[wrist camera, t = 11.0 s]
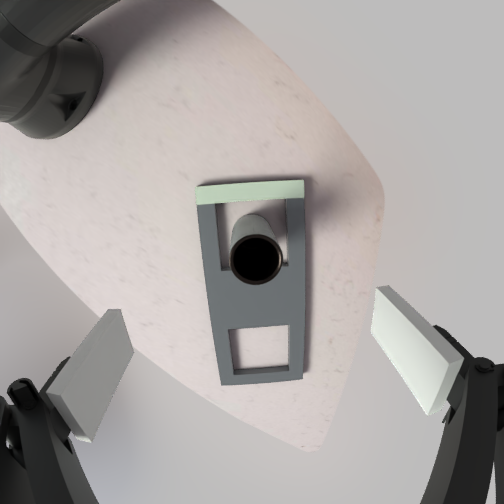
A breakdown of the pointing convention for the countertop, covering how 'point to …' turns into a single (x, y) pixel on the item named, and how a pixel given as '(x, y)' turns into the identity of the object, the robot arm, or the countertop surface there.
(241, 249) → the grey hollow cylinder
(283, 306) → the panel
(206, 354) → the countertop surface
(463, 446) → the robot arm
